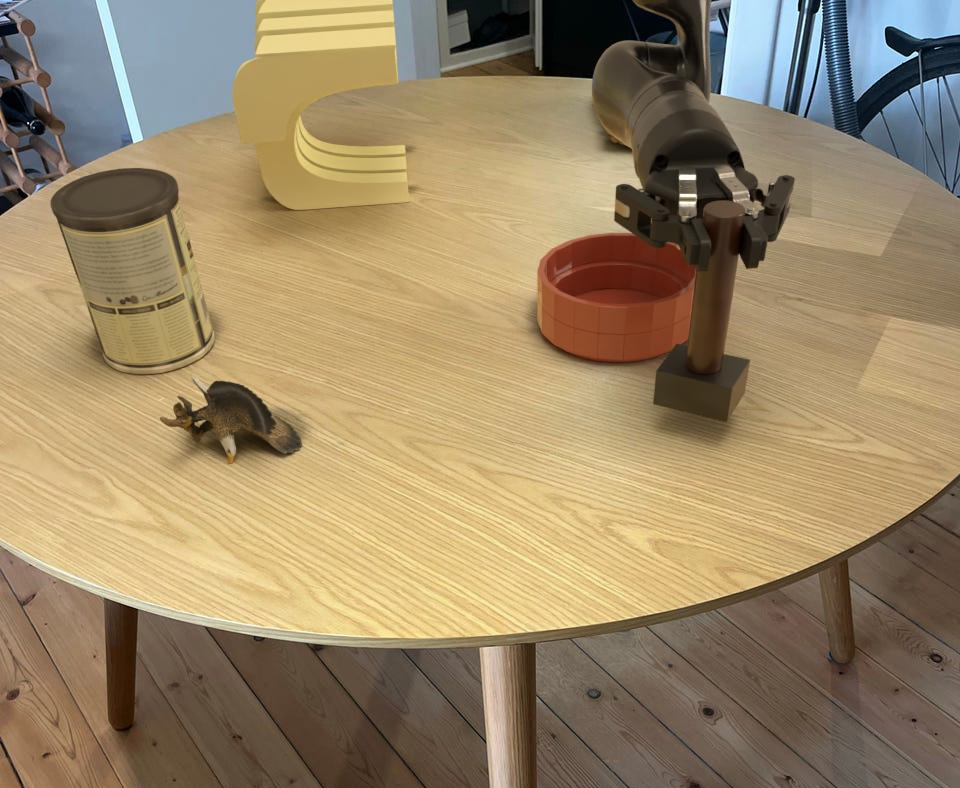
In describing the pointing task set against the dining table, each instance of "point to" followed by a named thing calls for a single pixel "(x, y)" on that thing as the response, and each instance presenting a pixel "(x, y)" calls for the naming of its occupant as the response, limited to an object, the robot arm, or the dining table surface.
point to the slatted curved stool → (306, 78)
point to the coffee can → (135, 268)
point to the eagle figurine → (233, 417)
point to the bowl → (614, 297)
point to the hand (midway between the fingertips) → (730, 256)
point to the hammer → (709, 329)
